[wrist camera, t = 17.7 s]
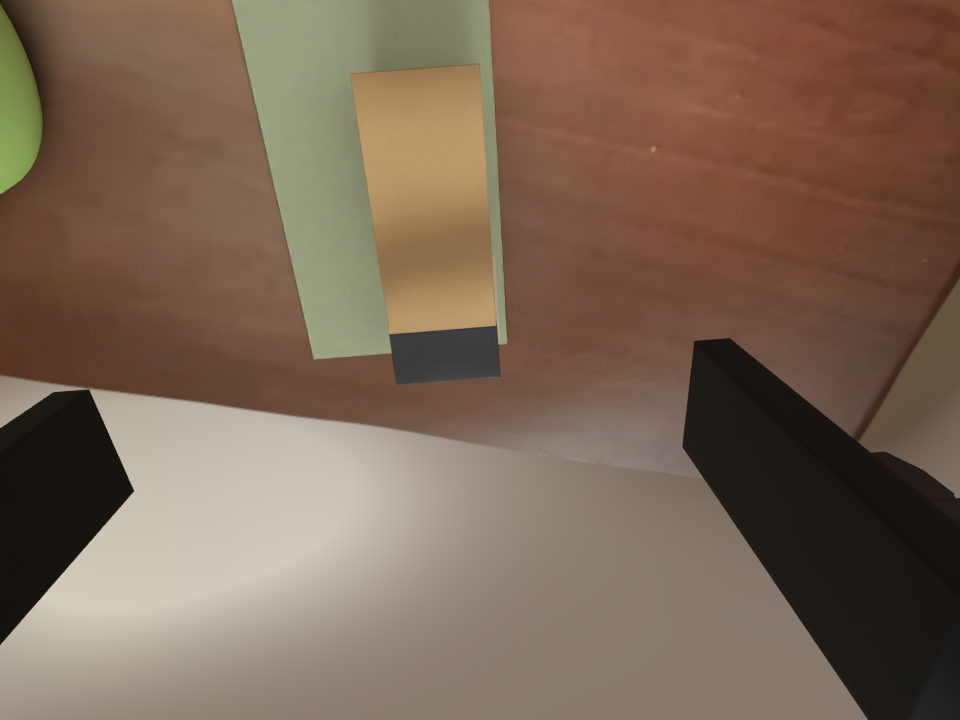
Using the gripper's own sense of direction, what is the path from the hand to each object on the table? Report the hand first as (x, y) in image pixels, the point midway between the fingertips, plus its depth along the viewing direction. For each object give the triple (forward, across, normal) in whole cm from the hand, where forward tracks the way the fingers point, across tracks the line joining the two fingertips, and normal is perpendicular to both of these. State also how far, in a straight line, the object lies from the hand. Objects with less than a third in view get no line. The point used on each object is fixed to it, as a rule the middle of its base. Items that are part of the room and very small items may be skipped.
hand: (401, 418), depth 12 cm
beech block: (+24, 0, 0) cm, 24 cm away
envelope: (+25, -3, +3) cm, 25 cm away
